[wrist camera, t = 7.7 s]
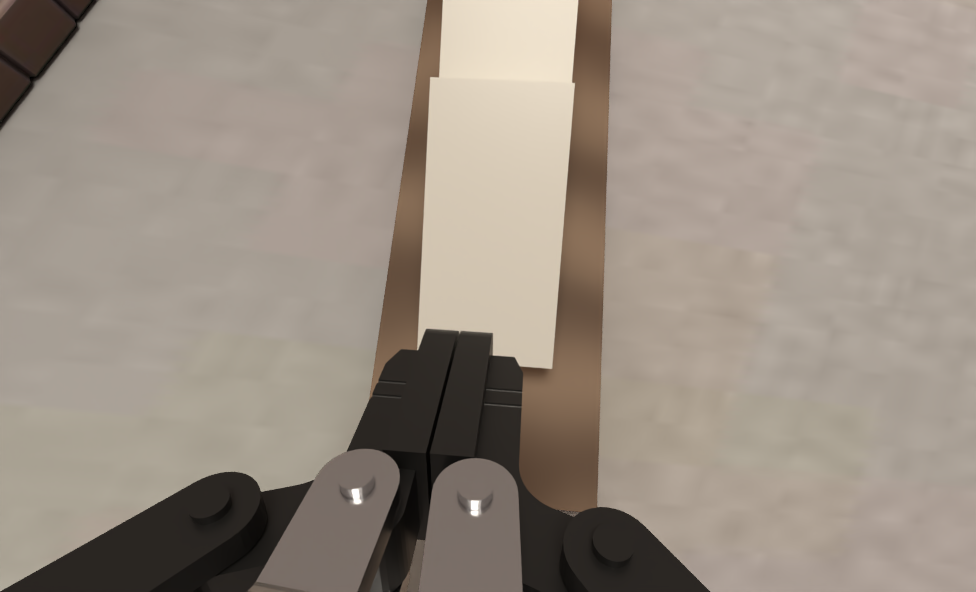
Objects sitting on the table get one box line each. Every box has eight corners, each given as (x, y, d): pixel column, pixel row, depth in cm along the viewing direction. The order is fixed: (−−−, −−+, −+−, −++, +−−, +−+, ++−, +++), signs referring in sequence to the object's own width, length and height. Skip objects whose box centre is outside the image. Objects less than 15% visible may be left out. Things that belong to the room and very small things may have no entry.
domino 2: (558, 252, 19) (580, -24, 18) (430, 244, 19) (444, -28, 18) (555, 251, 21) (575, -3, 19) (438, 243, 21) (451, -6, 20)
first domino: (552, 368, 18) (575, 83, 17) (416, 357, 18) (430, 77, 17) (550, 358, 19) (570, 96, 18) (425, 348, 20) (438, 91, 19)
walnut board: (591, 508, 19) (596, 513, 18) (365, 485, 20) (356, 488, 18) (609, -57, 26) (614, -79, 25) (442, -60, 27) (439, -82, 26)
